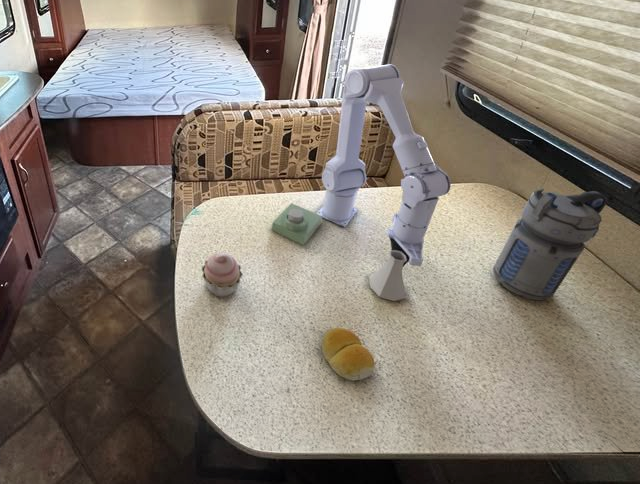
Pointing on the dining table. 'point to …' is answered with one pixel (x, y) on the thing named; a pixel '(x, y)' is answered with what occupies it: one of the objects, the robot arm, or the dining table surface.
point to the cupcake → (221, 274)
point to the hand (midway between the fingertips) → (397, 264)
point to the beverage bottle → (547, 242)
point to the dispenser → (297, 225)
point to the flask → (390, 278)
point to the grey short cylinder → (295, 215)
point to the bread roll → (347, 354)
